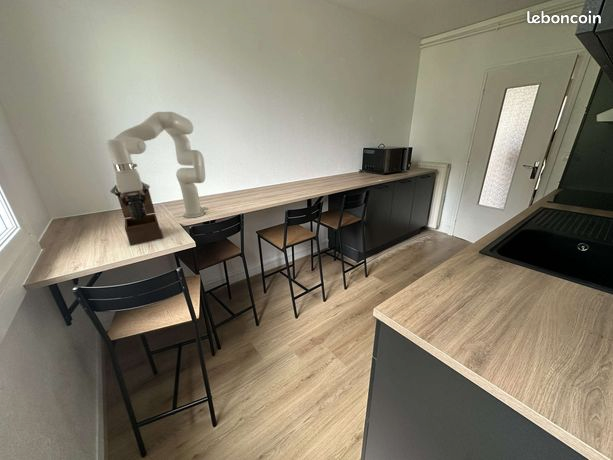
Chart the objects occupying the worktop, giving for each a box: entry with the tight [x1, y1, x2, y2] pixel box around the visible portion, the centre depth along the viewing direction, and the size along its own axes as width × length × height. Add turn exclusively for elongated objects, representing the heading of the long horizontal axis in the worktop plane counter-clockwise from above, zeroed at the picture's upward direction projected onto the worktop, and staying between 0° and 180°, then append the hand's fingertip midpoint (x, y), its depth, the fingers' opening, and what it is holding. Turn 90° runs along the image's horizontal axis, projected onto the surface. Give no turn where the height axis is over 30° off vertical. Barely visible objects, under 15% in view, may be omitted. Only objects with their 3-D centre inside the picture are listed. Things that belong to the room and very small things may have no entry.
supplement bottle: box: [127, 193, 148, 219], centre depth 124 cm, size 7×7×12 cm
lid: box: [115, 186, 156, 219], centre depth 141 cm, size 17×15×5 cm
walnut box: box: [124, 213, 163, 246], centre depth 138 cm, size 16×15×10 cm
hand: (135, 203), depth 124 cm, fingers closed on supplement bottle, 6 cm apart
